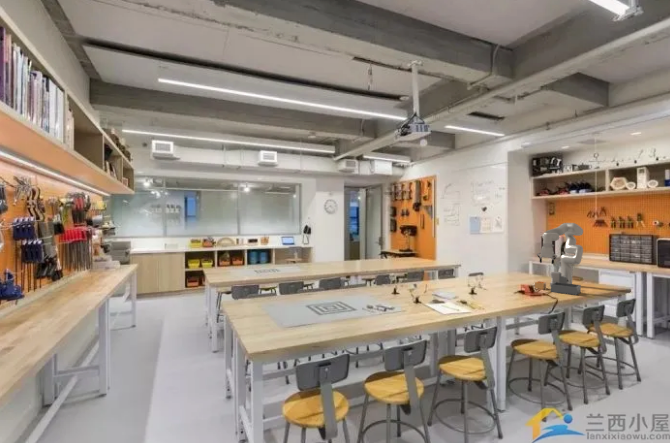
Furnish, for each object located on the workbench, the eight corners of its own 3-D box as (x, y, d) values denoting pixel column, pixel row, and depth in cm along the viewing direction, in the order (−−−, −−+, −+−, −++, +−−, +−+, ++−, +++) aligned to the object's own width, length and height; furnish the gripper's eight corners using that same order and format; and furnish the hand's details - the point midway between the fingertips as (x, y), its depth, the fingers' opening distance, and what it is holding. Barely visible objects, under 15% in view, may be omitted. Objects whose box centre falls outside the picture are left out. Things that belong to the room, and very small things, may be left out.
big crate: (555, 289, 333) (555, 282, 333) (580, 292, 319) (580, 285, 319) (550, 292, 320) (550, 284, 320) (576, 295, 306) (576, 287, 306)
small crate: (537, 287, 341) (537, 281, 341) (545, 288, 337) (546, 282, 336) (534, 288, 334) (535, 282, 334) (543, 289, 329) (543, 283, 329)
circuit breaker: (568, 289, 333) (568, 273, 333) (551, 287, 340) (551, 272, 339) (567, 287, 340) (567, 272, 340) (550, 286, 346) (550, 271, 346)
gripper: (558, 246, 332) (557, 264, 332) (538, 244, 344) (537, 262, 344) (557, 246, 327) (556, 264, 326) (536, 245, 338) (535, 262, 338)
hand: (546, 263), depth 335 cm, fingers open, 9 cm apart
